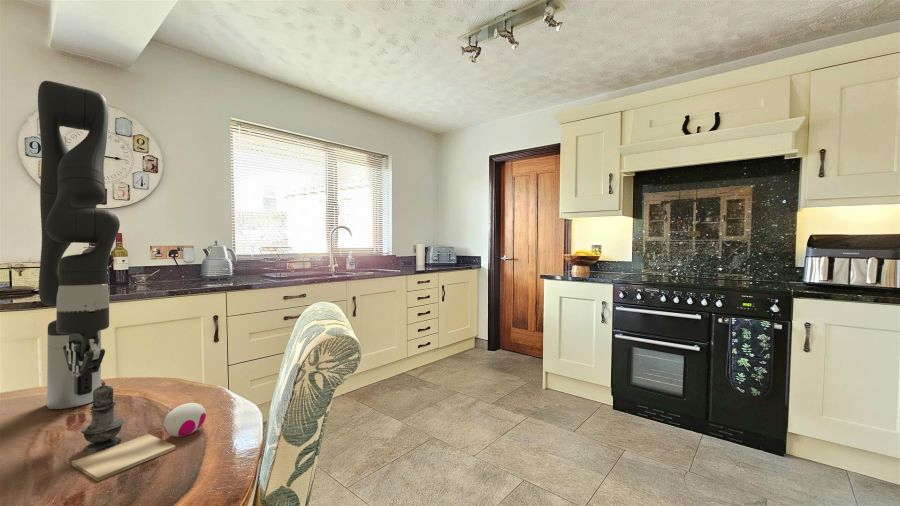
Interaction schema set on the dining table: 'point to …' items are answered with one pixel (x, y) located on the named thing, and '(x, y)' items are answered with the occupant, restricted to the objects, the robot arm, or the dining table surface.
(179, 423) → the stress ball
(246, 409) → the dining table surface
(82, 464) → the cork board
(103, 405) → the grey chess piece
